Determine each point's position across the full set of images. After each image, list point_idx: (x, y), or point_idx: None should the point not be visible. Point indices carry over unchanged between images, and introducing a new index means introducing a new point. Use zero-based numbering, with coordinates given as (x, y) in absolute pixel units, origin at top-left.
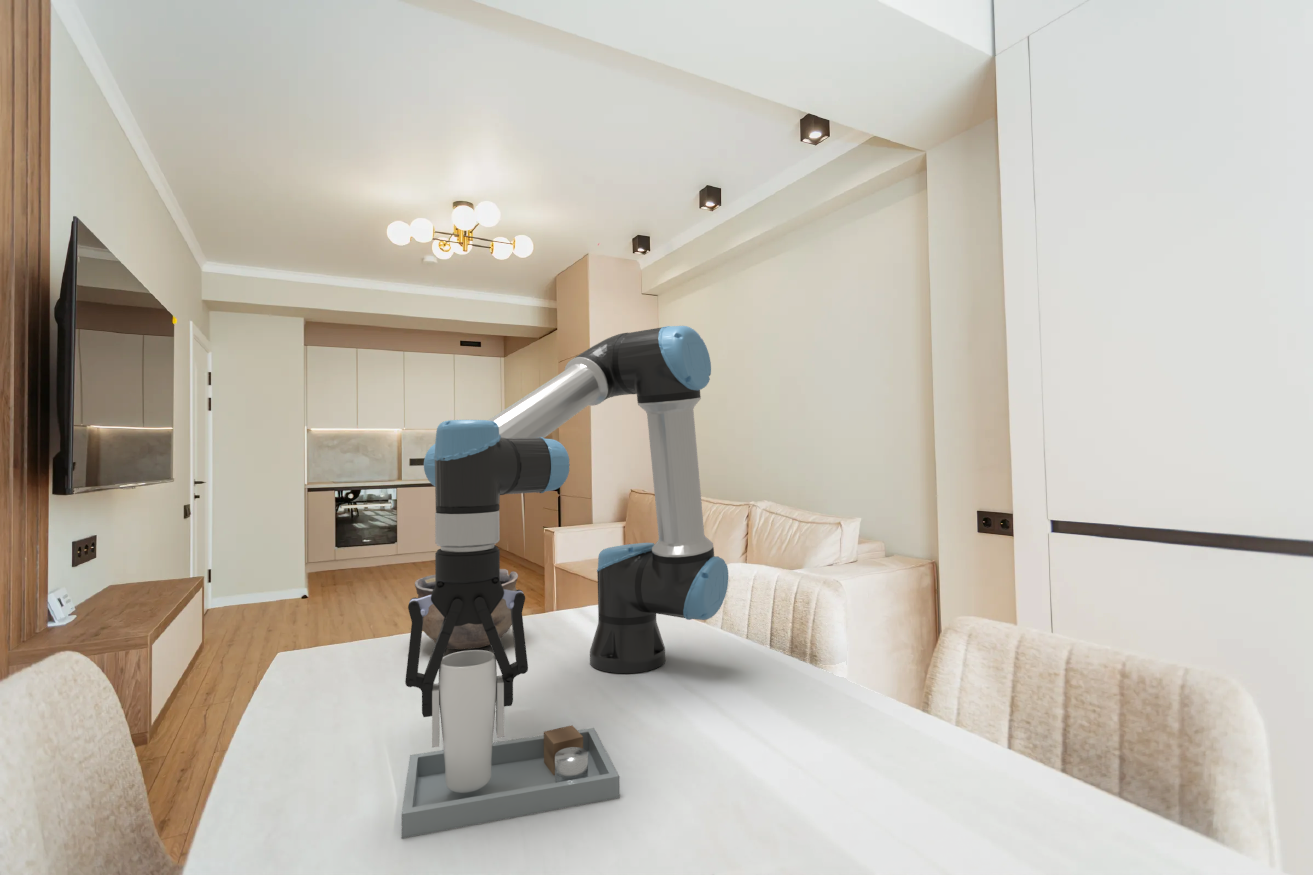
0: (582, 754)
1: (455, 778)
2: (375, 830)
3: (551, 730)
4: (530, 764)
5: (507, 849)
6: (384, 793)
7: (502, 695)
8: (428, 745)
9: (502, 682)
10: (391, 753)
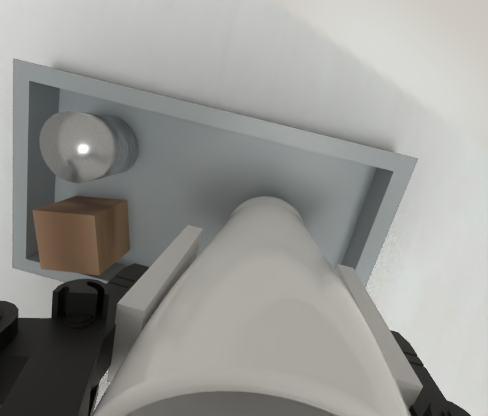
0: (51, 136)
1: (298, 215)
2: (416, 214)
3: (84, 270)
4: (151, 255)
5: (256, 40)
6: None
7: (147, 276)
8: None
9: (121, 307)
10: None
